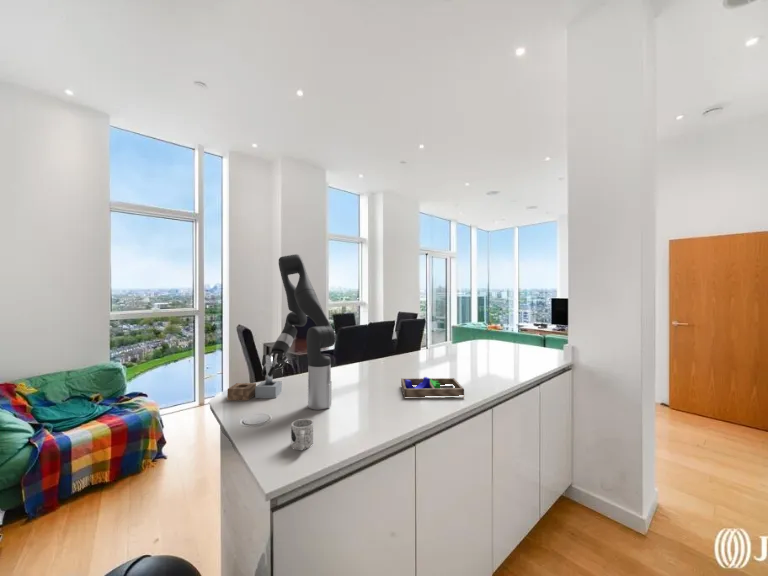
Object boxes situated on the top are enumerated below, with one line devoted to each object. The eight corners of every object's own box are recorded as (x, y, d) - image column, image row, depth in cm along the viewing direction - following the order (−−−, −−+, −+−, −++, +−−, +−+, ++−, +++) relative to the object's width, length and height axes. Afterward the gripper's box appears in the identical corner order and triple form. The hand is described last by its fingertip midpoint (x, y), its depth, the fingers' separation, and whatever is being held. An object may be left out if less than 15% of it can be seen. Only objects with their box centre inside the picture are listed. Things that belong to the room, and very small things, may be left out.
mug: (291, 440, 100) (291, 419, 100) (313, 438, 101) (313, 418, 101) (289, 456, 90) (289, 433, 90) (313, 454, 92) (313, 431, 92)
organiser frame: (454, 386, 159) (454, 378, 159) (464, 397, 141) (464, 389, 141) (401, 386, 159) (401, 378, 159) (404, 398, 141) (404, 389, 141)
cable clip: (424, 388, 155) (424, 376, 155) (429, 390, 151) (429, 378, 151) (403, 391, 149) (403, 379, 149) (408, 394, 145) (408, 381, 145)
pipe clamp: (441, 395, 145) (441, 385, 145) (433, 395, 145) (433, 385, 145) (437, 388, 157) (437, 378, 157) (429, 388, 156) (429, 378, 156)
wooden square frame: (256, 393, 146) (256, 383, 146) (248, 400, 137) (248, 388, 137) (236, 393, 146) (236, 383, 146) (227, 400, 137) (227, 389, 137)
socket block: (281, 391, 150) (281, 381, 150) (275, 397, 141) (275, 386, 141) (262, 391, 149) (262, 381, 149) (255, 398, 140) (255, 386, 140)
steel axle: (273, 390, 147) (273, 356, 147) (271, 392, 144) (271, 357, 144) (266, 390, 147) (267, 356, 147) (264, 392, 144) (264, 357, 144)
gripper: (267, 339, 155) (249, 369, 143) (291, 340, 150) (275, 372, 139) (274, 348, 160) (257, 378, 148) (298, 349, 155) (282, 381, 143)
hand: (266, 375), depth 143 cm, fingers closed on steel axle, 3 cm apart
